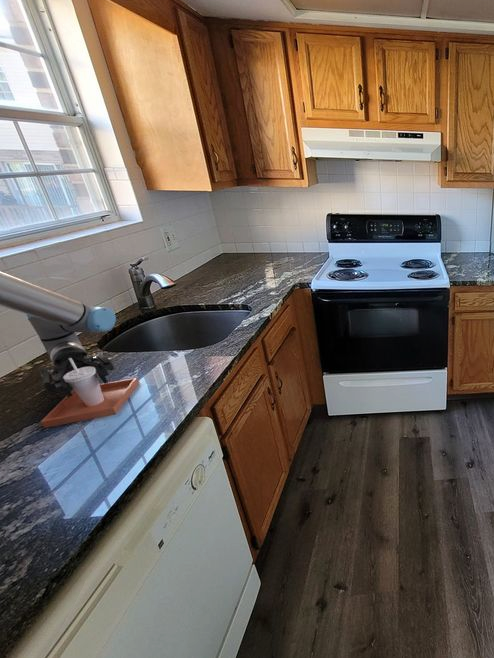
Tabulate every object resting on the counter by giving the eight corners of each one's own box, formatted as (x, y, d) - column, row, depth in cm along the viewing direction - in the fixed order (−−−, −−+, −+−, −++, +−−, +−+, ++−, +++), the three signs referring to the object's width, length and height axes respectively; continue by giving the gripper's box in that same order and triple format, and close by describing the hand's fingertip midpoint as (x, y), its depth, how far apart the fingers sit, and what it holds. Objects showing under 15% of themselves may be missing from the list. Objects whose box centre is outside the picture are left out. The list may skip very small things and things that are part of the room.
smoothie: (98, 393, 104) (75, 351, 98) (116, 396, 103) (94, 353, 97) (73, 408, 98) (47, 363, 92) (92, 410, 97) (67, 366, 91)
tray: (44, 428, 92) (40, 421, 91) (77, 394, 105) (74, 388, 104) (116, 413, 96) (113, 407, 95) (139, 383, 109) (137, 377, 108)
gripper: (117, 355, 116) (137, 380, 103) (30, 384, 102) (41, 416, 89) (107, 335, 113) (127, 357, 99) (16, 361, 99) (25, 391, 86)
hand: (86, 385), depth 94 cm, fingers closed on smoothie, 6 cm apart
